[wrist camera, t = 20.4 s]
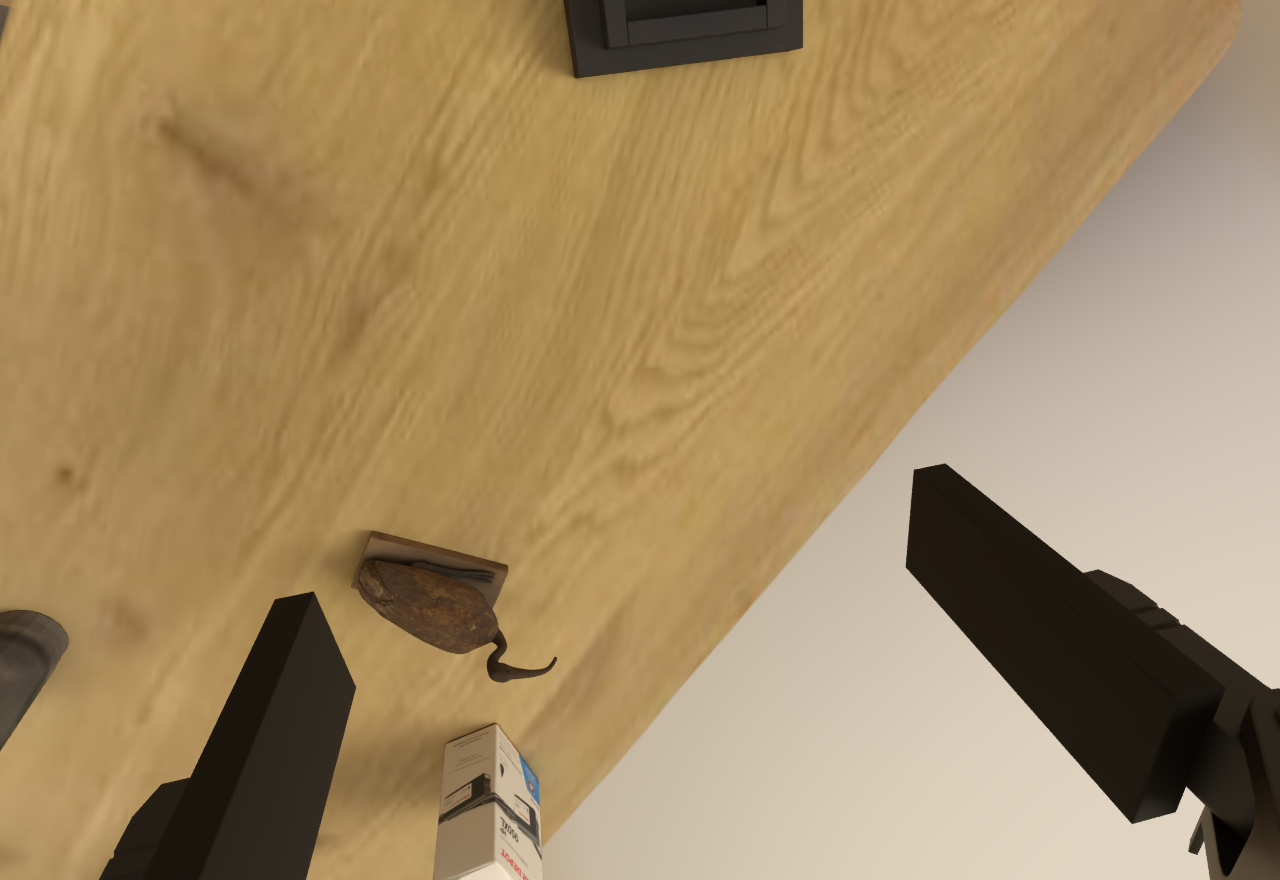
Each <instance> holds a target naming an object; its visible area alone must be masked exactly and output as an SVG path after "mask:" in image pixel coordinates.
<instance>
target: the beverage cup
mask: <svg viewBox="0 0 1280 880" xmlns="http://www.w3.org/2000/svg"><path fill="white" fill-rule="evenodd" d="M67 645H68V638H67V634H66V632H65V631H64V629H63V628H62V627H61V626H60V625H59V624H58V623H57V622H55V621H54V620H53V619H51V618H49V617H47V616H45V615H42V614H40V613H35V612H31V611H17V610H15V611H10V612H5V613H2V614H0V751H1V749H2V748H3V746H4V745H5V743H6V742H7V740H8V739H9V737H10V736H11V734H12V733H13V731H14V730H15V728H16V727H17V725H18V724H19V722H20V721H21V719H22V718H23V716H24V715H25V713H26V712H27V710H28V709H29V707H30V706H31V704H32V703H33V701H34V700H35V698H36V697H37V695H38V694H39V692H40V690H41V689H42V687H43V686H44V684H45V683H46V681H47V680H48V678H49V677H50V675H51V674H52V672H53V671H54V669H55V668H56V664H57V663H58V661H59V660H60V658H61V655H62V654H63V653H64V652H65V650H66V648H67Z"/></svg>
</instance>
